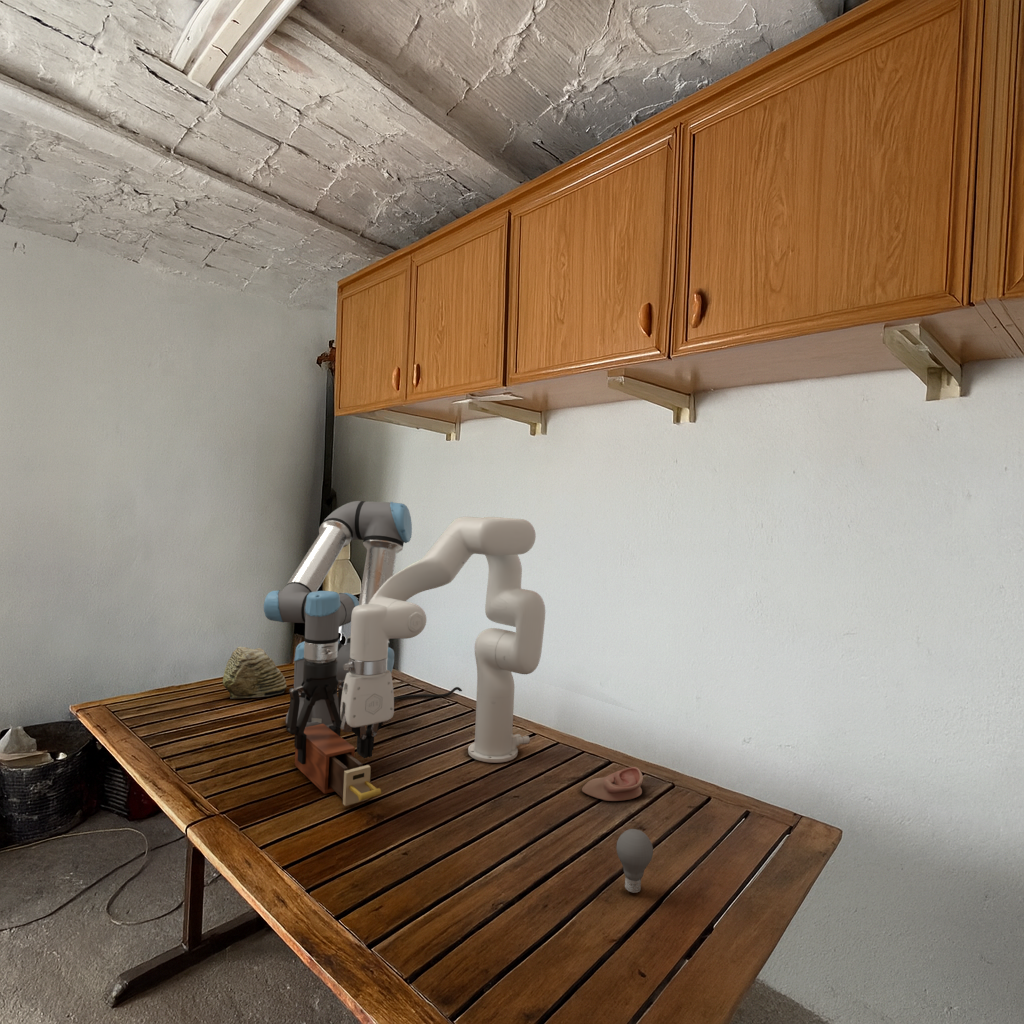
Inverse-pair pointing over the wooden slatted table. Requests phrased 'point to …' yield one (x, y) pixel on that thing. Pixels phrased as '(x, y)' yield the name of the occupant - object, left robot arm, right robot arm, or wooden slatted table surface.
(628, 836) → the light bulb
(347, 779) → the drawer
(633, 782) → the anatomical model
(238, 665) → the fossil
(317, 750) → the cabinet
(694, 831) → the wooden slatted table surface
